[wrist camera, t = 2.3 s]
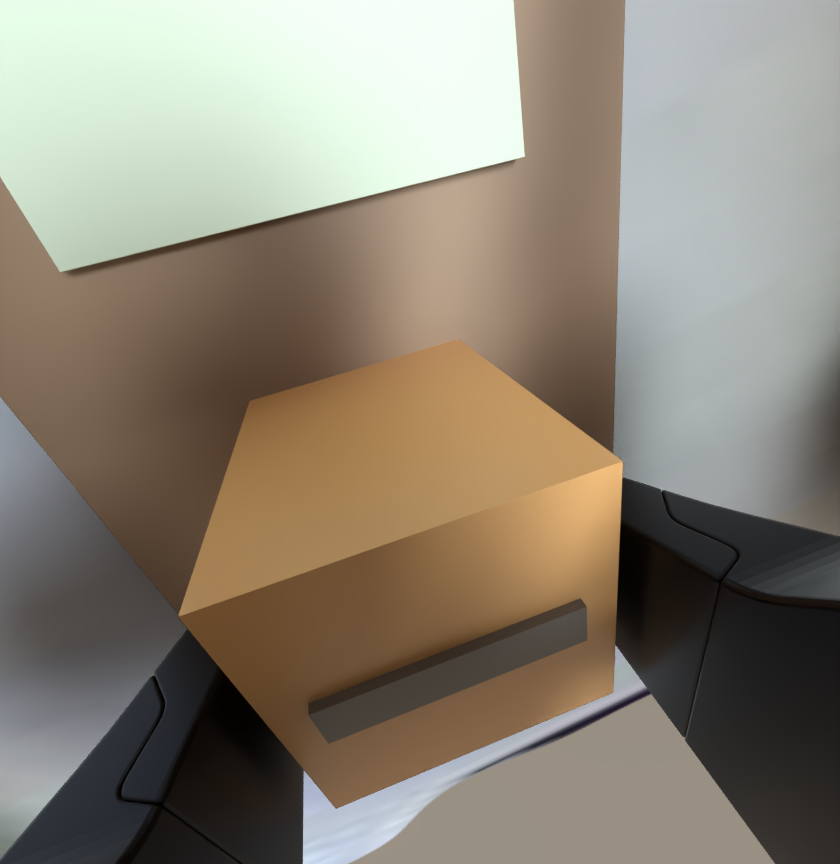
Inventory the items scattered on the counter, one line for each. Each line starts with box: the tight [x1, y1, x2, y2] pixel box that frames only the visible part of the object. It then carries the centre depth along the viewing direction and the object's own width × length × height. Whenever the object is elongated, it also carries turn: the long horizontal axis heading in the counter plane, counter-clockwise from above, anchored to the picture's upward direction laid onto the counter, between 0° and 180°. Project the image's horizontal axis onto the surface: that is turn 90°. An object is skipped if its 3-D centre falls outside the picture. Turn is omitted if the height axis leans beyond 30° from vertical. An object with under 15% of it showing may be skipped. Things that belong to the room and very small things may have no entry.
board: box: [0, 0, 625, 614], centre depth 9 cm, size 14×22×1 cm, turn 13°
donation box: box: [178, 339, 623, 809], centre depth 8 cm, size 5×5×6 cm
